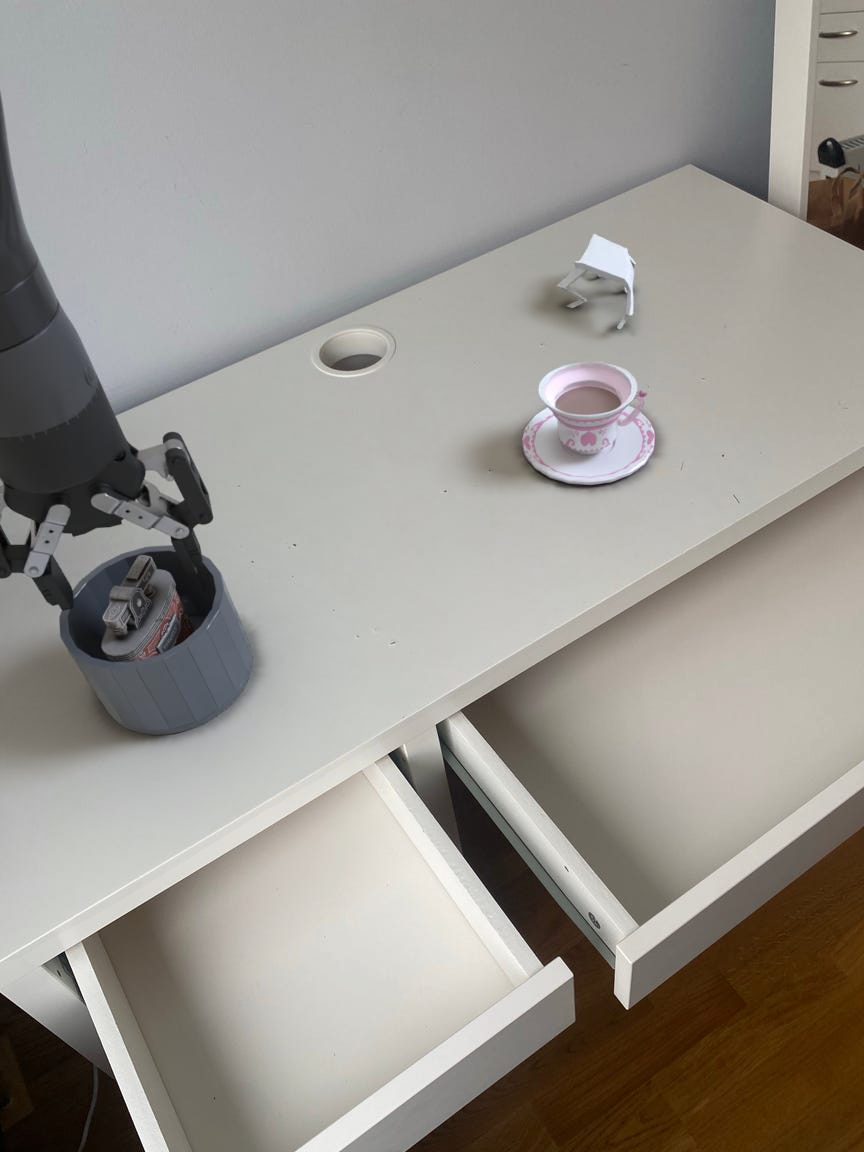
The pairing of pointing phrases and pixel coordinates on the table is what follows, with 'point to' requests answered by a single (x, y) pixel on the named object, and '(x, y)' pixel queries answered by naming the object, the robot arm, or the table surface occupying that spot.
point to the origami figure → (604, 270)
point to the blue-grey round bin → (176, 677)
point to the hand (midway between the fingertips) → (130, 584)
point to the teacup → (589, 425)
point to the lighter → (144, 615)
